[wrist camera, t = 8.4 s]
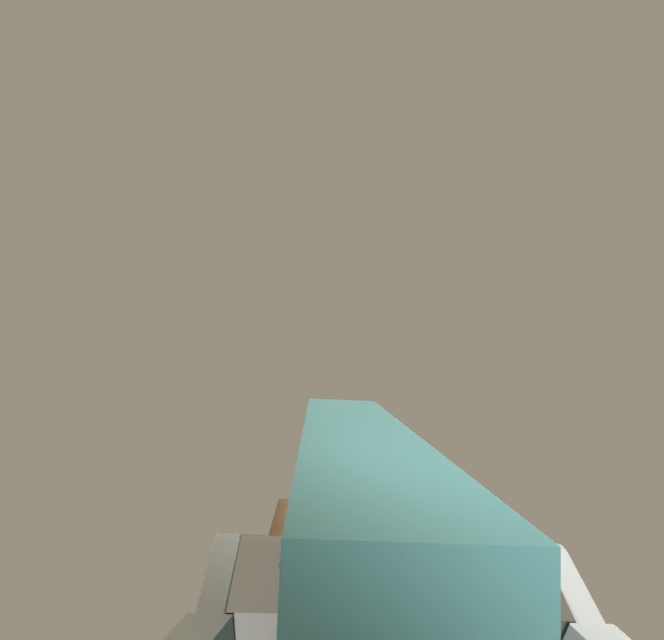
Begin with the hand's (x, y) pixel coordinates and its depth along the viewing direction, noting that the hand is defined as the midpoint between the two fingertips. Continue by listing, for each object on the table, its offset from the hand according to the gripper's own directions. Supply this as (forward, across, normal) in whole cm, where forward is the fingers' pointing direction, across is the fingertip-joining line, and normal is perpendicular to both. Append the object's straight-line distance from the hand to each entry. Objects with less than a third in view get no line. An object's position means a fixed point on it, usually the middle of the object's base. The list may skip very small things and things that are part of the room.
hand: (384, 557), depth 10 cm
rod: (+6, 0, +6) cm, 8 cm away
